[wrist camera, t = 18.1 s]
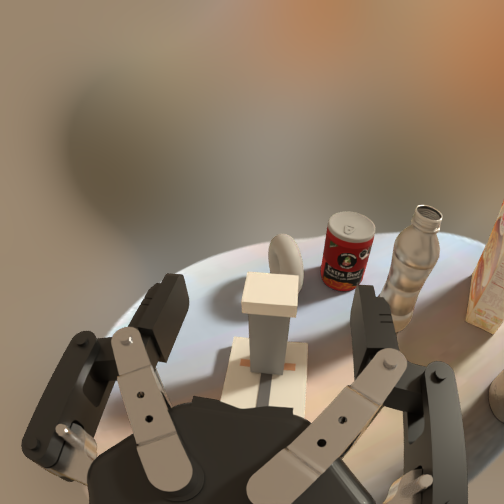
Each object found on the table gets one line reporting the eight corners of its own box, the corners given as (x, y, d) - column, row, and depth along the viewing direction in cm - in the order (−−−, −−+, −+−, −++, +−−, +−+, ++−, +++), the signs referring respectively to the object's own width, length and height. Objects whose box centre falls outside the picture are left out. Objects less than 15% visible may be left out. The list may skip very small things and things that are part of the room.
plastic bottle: (412, 320, 44) (458, 215, 32) (392, 346, 41) (443, 235, 29) (382, 300, 48) (416, 193, 36) (360, 323, 45) (395, 209, 32)
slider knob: (288, 352, 39) (298, 275, 30) (286, 378, 36) (297, 306, 27) (250, 348, 39) (247, 271, 31) (245, 374, 36) (241, 301, 28)
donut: (303, 308, 48) (310, 259, 41) (282, 313, 47) (286, 263, 41) (284, 267, 55) (287, 220, 49) (265, 271, 55) (266, 223, 48)
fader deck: (306, 351, 41) (308, 342, 40) (294, 507, 24) (296, 505, 23) (235, 344, 43) (234, 336, 41) (203, 496, 26) (199, 494, 24)
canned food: (317, 288, 51) (326, 234, 44) (322, 259, 57) (330, 207, 50) (361, 296, 49) (377, 243, 42) (362, 265, 55) (374, 215, 48)
